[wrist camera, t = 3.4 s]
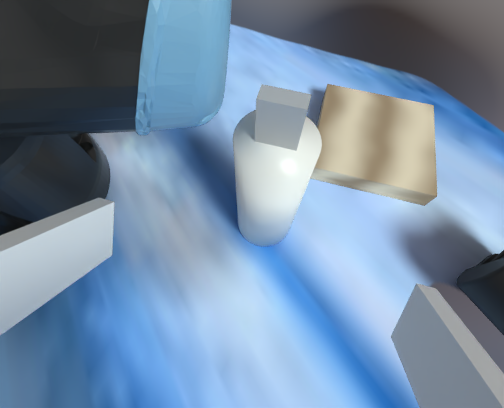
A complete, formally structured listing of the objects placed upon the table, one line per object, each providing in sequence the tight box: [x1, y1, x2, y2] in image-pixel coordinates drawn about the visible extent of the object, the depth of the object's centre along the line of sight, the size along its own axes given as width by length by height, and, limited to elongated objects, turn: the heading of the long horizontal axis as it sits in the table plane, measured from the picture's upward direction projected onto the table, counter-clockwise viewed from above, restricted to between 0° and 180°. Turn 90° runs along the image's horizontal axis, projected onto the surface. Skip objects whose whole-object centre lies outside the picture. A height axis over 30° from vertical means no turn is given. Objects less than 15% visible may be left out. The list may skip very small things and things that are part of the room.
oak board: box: [310, 84, 437, 206], centre depth 30 cm, size 12×12×2 cm
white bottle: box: [233, 84, 322, 247], centre depth 19 cm, size 5×5×15 cm
